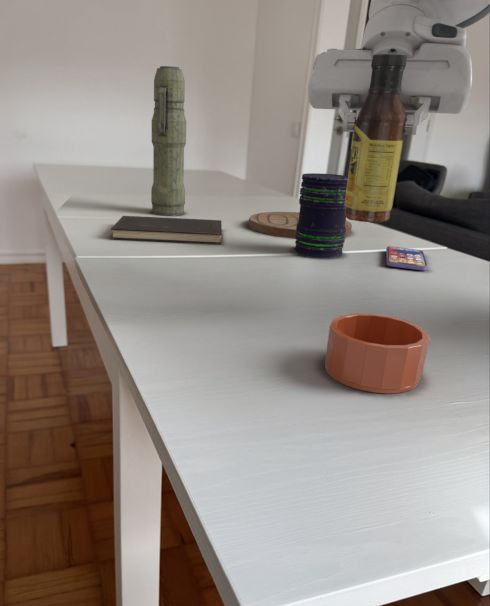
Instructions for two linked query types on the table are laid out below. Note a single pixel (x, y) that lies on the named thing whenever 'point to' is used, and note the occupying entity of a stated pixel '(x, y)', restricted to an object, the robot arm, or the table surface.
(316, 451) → the table surface
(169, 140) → the thermos
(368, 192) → the sauce bottle
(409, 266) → the smartphone
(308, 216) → the storage jar
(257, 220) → the trivet
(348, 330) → the faceted bowl
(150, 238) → the hardcover book
